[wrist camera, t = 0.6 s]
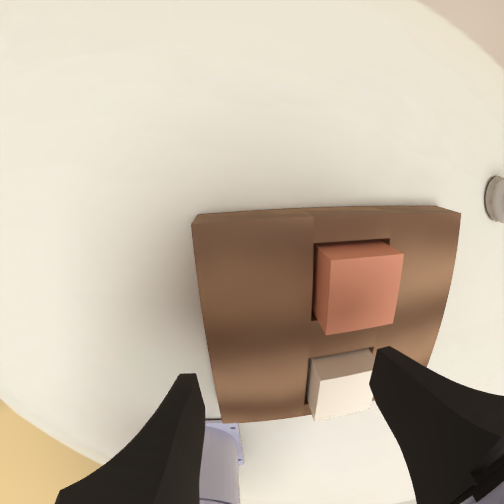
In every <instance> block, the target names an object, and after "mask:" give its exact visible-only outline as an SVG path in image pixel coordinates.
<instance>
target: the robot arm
mask: <svg viewBox="0 0 504 504" xmlns="http://www.w3.org/2000/svg"><path fill="white" fill-rule="evenodd" d="M369 386H370V389H371V391H372V394H373V397H374V399H375V402H376V404H377V406H378V408H379V409H380V411H381V413H382V415H383V417H384V418H385V420H386V422H387V424H388V425H389V427H390V429H391V431H392V432H393V434H394V436H395V438H396V440H397V442H398V444H399V446H400V448H401V451H402V453H403V456H404V458H405V461H406V464H407V467H408V470H409V473H410V476H411V480H412V484H413V488H414V492H415V496H416V501H417V504H504V396H500V395H495V394H490V393H486V392H482V391H478V390H475V389H472V388H469V387H466V386H464V385H461V384H459V383H456V382H454V381H452V380H449V379H447V378H445V377H443V376H441V375H439V374H437V373H435V372H434V371H432V370H430V369H428V368H426V367H425V366H423V365H421V364H420V363H418V362H416V361H415V360H413V359H411V358H410V357H408V356H406V355H405V354H403V353H401V352H400V351H398V350H396V349H394V348H393V347H391V346H387V347H383V348H379V349H377V352H376V356H375V361H374V365H373V369H372V373H371V378H370V381H369ZM243 464H244V458H243V452H242V446H241V440H240V434H239V428H238V423H227V424H223V422H222V420H205V405H204V402H203V398H202V395H201V391H200V387H199V383H198V380H197V376H196V373H192V374H180V375H179V376H178V377H177V379H176V381H175V382H174V384H173V386H172V387H171V389H170V391H169V392H168V394H167V395H166V397H165V398H164V400H163V401H162V403H161V404H160V406H159V407H158V409H157V410H156V411H155V413H154V414H153V416H152V417H151V418H150V419H149V421H148V422H147V423H146V424H145V426H144V427H143V428H142V429H141V431H140V432H139V433H138V434H137V435H136V436H135V437H134V438H133V439H132V440H131V441H130V442H129V443H128V444H127V445H126V446H125V447H124V448H123V449H122V450H121V451H120V452H119V453H118V454H117V455H115V456H114V457H113V458H112V459H111V460H110V461H108V462H107V463H106V464H104V465H103V466H102V467H100V468H99V469H97V470H96V471H94V472H93V473H91V474H90V475H89V476H87V477H85V478H84V479H82V480H80V481H78V482H76V483H74V484H72V485H70V486H68V487H66V488H64V489H62V490H60V492H59V494H58V496H57V499H56V502H55V504H240V492H239V475H238V465H243Z"/></svg>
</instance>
